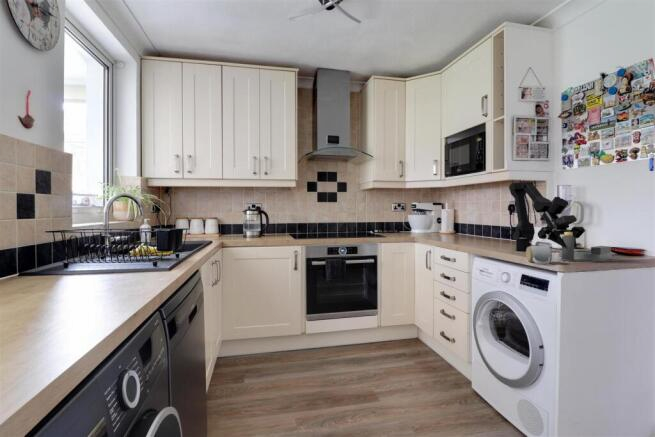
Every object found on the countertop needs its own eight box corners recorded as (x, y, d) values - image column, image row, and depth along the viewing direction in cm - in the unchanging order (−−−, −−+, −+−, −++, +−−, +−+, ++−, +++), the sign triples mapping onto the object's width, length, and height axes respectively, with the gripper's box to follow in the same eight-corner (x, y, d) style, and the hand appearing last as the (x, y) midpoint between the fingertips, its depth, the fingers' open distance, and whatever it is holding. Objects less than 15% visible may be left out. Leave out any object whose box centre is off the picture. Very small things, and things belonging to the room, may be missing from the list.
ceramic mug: (524, 260, 142) (525, 243, 142) (545, 261, 140) (546, 244, 139) (533, 265, 132) (533, 247, 131) (555, 266, 129) (556, 247, 129)
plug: (562, 261, 140) (563, 232, 139) (560, 259, 144) (560, 231, 144) (575, 262, 138) (576, 232, 137) (573, 260, 142) (573, 232, 142)
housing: (559, 256, 153) (559, 244, 153) (571, 254, 159) (571, 243, 159) (599, 261, 139) (599, 248, 139) (611, 259, 145) (611, 246, 145)
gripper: (542, 209, 144) (559, 235, 134) (582, 209, 144) (602, 235, 133) (530, 225, 152) (546, 250, 142) (569, 225, 152) (587, 250, 142)
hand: (570, 246), depth 139 cm, fingers closed on plug, 4 cm apart
